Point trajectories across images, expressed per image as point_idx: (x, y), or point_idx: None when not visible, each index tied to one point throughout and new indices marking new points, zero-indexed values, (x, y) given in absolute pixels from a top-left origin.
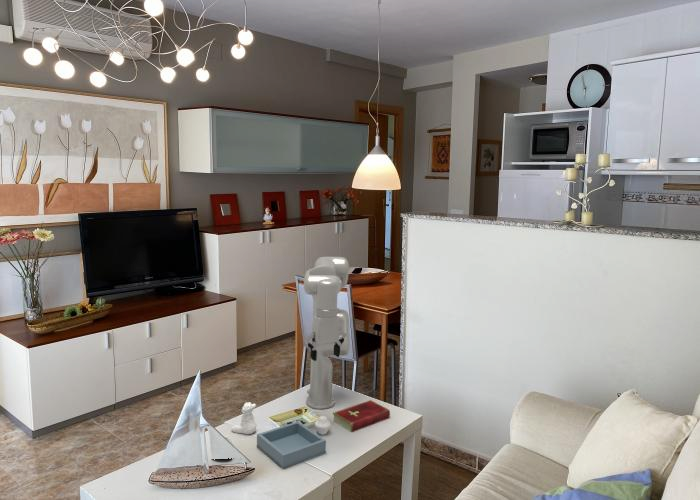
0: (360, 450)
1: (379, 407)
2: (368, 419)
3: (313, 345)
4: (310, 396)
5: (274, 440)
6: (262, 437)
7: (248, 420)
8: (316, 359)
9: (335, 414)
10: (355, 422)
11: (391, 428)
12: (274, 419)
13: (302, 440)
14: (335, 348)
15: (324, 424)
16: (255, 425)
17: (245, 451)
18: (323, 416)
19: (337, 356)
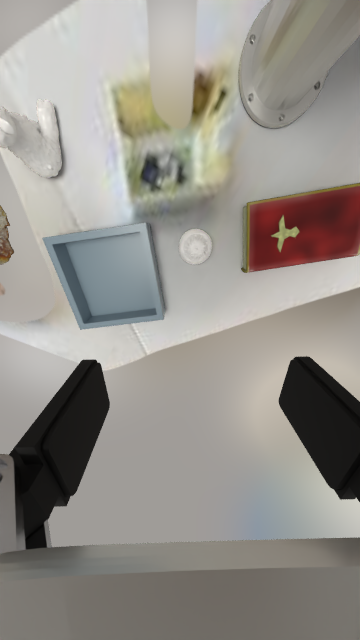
0: (216, 325)
1: (353, 233)
2: (291, 265)
3: (8, 523)
4: (261, 37)
5: (92, 239)
6: (52, 257)
7: (21, 157)
8: (107, 411)
9: (247, 214)
10: (258, 270)
11: (309, 291)
12: (121, 116)
13: (142, 264)
14: (327, 432)
15: (193, 260)
16: (51, 168)
17: (37, 242)
18: (199, 247)
19: (279, 403)
